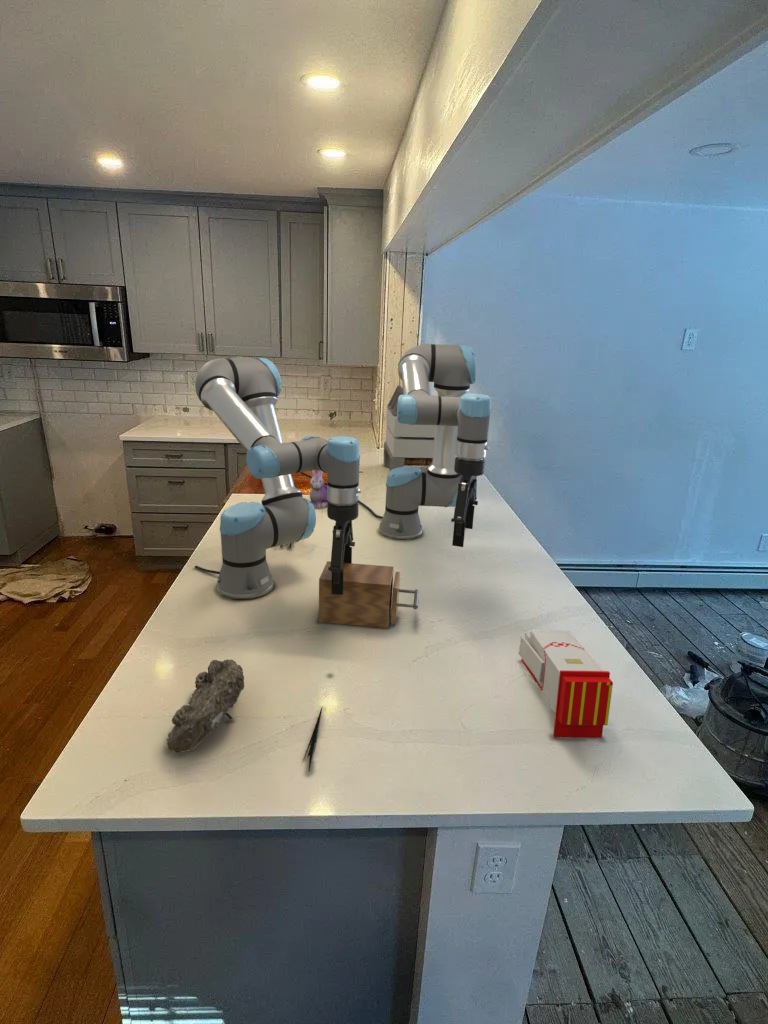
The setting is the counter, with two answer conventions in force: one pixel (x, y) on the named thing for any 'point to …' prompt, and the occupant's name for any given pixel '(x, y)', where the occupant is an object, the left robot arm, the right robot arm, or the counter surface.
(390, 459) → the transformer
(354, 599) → the cabinet
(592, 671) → the toy
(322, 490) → the figurine
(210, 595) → the counter surface
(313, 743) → the feather
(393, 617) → the drawer
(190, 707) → the fossil
